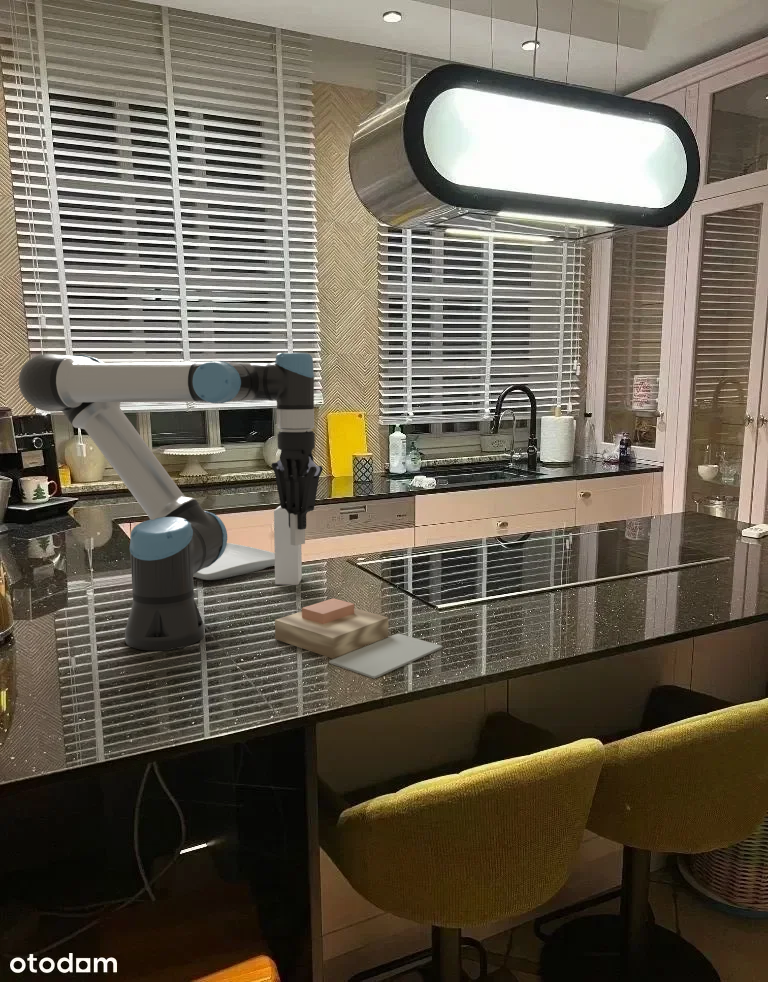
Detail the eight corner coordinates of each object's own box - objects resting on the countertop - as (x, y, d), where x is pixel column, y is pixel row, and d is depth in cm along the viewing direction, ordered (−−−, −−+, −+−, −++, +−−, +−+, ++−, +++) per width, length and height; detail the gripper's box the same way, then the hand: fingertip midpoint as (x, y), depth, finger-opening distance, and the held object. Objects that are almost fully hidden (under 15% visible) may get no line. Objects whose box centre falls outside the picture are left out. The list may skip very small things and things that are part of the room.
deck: (332, 658, 139) (332, 637, 139) (275, 639, 150) (274, 619, 149) (388, 636, 151) (388, 617, 151) (331, 620, 162) (331, 602, 161)
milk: (275, 584, 189) (272, 498, 186) (279, 578, 195) (277, 494, 192) (299, 584, 189) (297, 498, 186) (302, 578, 195) (300, 494, 192)
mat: (374, 678, 130) (374, 676, 130) (329, 663, 137) (329, 660, 137) (442, 647, 145) (442, 645, 145) (398, 635, 152) (398, 633, 152)
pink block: (323, 623, 147) (323, 614, 146) (301, 617, 151) (301, 608, 150) (354, 613, 154) (354, 603, 153) (333, 607, 157) (333, 598, 157)
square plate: (289, 568, 207) (288, 554, 207) (205, 588, 187) (205, 573, 186) (229, 552, 225) (228, 540, 225) (147, 569, 205) (146, 555, 204)
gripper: (331, 430, 151) (333, 545, 154) (287, 427, 159) (289, 536, 163) (304, 432, 145) (306, 551, 149) (260, 429, 154) (263, 542, 157)
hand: (297, 543), depth 156 cm, fingers closed
